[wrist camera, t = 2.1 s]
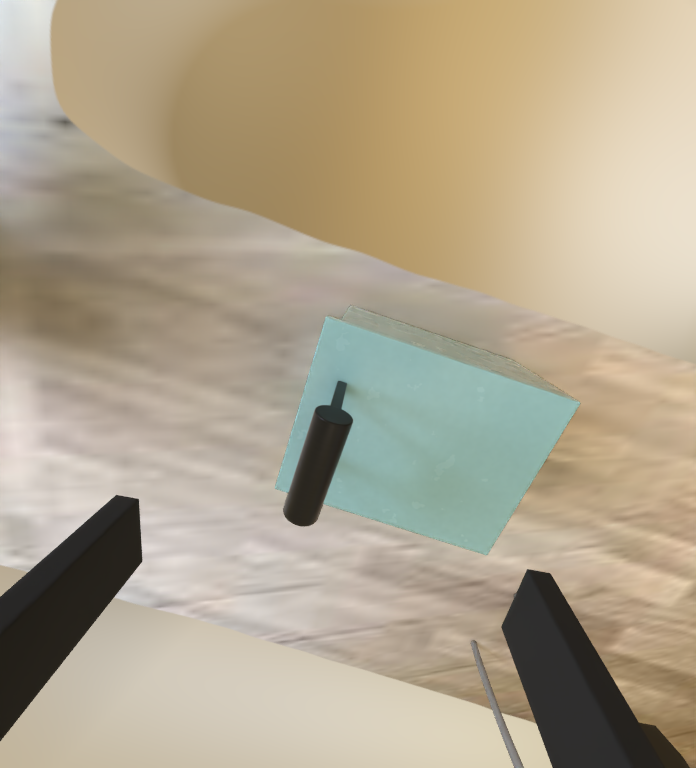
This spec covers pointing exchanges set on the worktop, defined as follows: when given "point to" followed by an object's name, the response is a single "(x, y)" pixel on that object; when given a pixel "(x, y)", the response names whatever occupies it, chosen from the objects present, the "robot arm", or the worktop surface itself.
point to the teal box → (445, 346)
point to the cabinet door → (415, 438)
